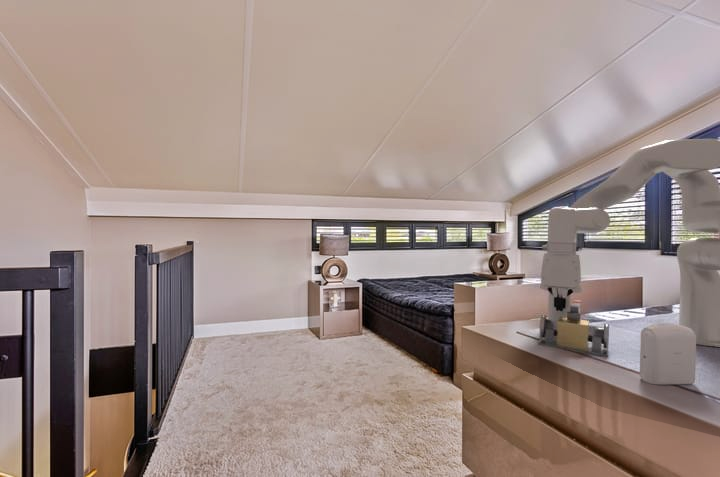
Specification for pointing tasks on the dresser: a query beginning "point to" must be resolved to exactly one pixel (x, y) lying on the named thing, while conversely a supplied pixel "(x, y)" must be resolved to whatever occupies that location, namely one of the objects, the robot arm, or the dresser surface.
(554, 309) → the travel mug
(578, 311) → the lever
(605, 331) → the grey vise
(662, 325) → the photo printer
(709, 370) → the dresser surface
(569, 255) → the robot arm
